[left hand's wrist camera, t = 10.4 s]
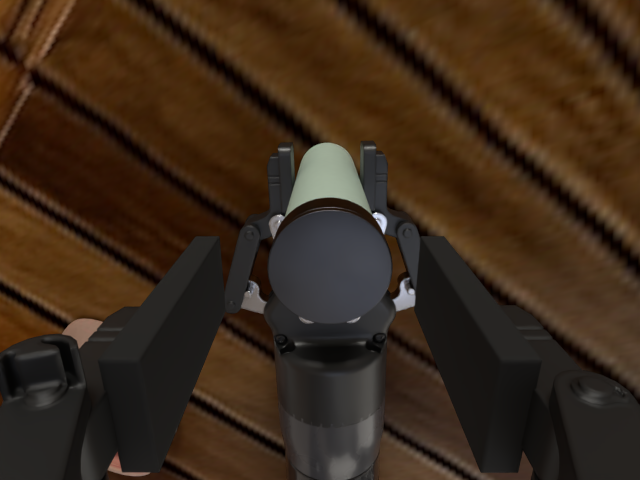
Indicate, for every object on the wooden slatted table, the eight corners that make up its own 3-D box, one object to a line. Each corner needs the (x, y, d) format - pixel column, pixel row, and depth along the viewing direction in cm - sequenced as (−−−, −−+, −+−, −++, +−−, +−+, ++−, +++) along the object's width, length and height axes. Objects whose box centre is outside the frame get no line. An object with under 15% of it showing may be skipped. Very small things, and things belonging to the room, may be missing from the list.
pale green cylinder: (335, 206, 32) (346, 332, 16) (289, 178, 32) (253, 281, 15) (365, 161, 31) (408, 248, 15) (318, 131, 30) (310, 188, 14)
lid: (345, 319, 17) (347, 344, 16) (252, 268, 17) (245, 287, 15) (408, 235, 16) (417, 251, 14) (310, 174, 15) (309, 185, 14)
